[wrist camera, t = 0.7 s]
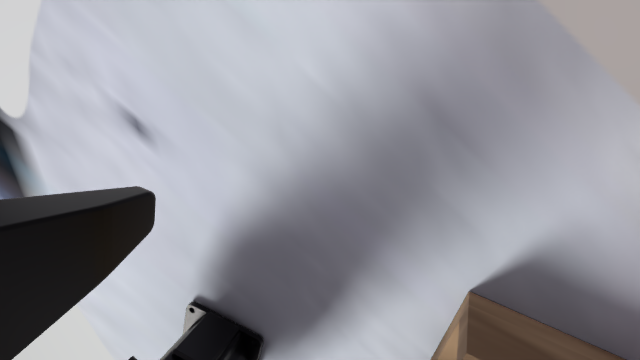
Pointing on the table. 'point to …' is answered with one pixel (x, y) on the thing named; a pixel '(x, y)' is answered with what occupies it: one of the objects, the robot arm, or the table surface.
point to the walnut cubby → (508, 337)
